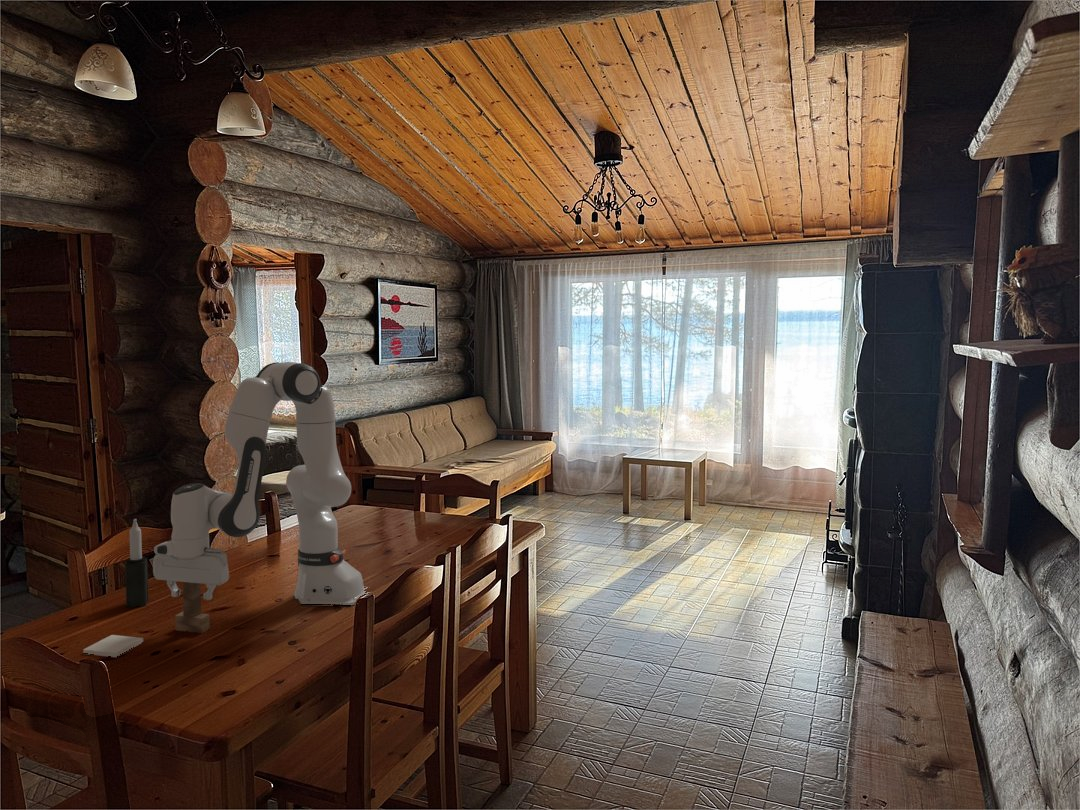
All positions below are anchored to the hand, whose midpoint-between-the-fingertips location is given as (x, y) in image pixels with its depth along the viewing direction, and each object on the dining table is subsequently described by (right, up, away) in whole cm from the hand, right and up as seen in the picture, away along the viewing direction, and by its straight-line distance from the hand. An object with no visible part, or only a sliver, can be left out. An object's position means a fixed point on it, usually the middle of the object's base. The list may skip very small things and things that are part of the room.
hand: (191, 597), depth 187 cm
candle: (-24, -7, +18) cm, 31 cm away
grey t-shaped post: (0, -9, +1) cm, 9 cm away
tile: (-13, -9, -7) cm, 17 cm away
